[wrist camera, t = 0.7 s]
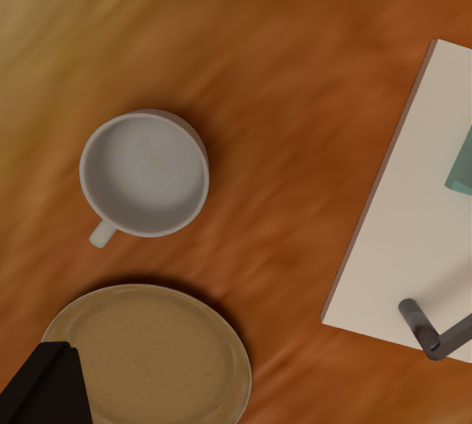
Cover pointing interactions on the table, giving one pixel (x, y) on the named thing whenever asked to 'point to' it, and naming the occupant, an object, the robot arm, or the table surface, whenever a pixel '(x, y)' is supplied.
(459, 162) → the teal rectangular frame
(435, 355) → the dark hinged linkage
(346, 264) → the base board
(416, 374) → the table surface
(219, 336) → the plant saucer
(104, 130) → the teacup
